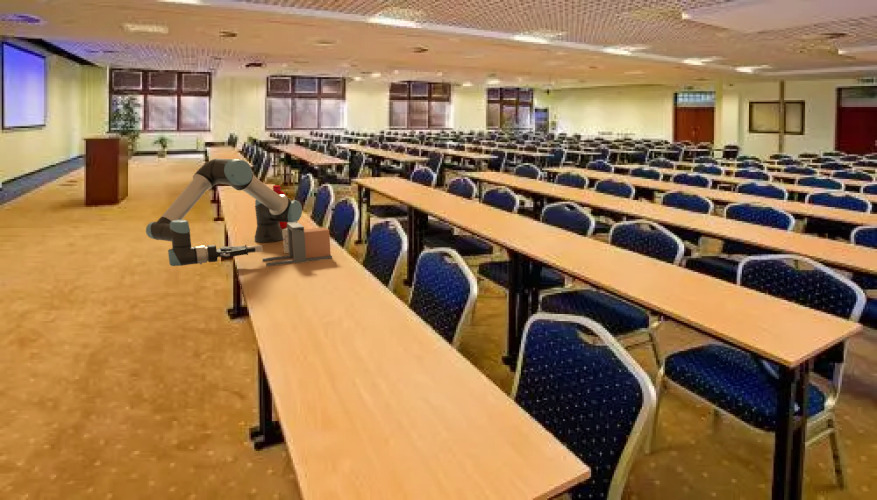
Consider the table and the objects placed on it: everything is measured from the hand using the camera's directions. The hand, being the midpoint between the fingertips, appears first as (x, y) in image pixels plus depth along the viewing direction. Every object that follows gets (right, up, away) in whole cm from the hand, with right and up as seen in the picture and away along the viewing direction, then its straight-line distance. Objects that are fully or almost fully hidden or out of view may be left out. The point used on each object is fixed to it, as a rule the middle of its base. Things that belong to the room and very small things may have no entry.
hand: (262, 248), depth 277 cm
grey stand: (+14, -5, +8) cm, 17 cm away
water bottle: (-13, +12, +82) cm, 84 cm away
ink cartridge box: (+8, -2, +24) cm, 26 cm away
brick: (+20, -4, +11) cm, 23 cm away
